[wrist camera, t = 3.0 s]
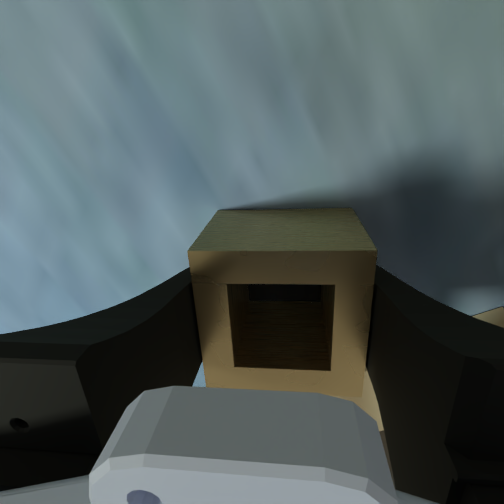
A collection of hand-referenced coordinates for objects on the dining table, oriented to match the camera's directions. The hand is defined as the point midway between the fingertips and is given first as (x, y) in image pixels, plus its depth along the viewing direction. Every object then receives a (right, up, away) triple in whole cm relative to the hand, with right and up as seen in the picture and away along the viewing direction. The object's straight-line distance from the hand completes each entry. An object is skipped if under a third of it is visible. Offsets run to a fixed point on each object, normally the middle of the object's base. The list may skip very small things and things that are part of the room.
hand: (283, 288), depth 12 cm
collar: (0, +1, +1) cm, 2 cm away
